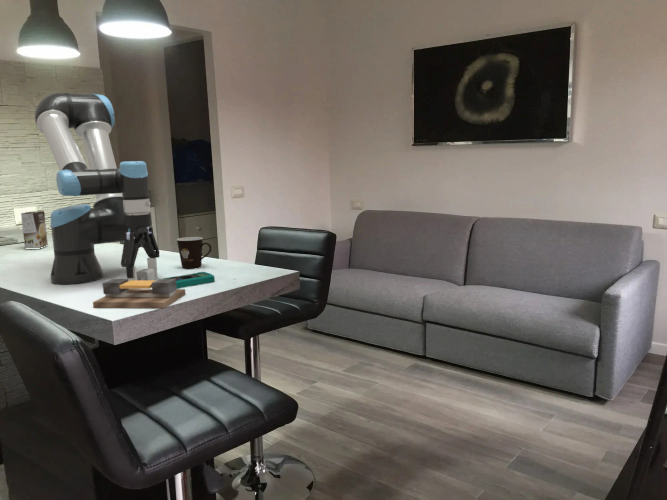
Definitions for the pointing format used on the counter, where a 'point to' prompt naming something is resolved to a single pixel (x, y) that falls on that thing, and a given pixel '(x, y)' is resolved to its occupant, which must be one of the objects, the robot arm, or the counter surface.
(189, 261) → the coffee mug
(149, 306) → the board
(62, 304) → the counter surface
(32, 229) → the coffee box
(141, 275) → the usb wall charger
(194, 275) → the digital multimeter
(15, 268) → the counter surface
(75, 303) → the counter surface
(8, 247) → the counter surface
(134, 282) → the orange flat plate
